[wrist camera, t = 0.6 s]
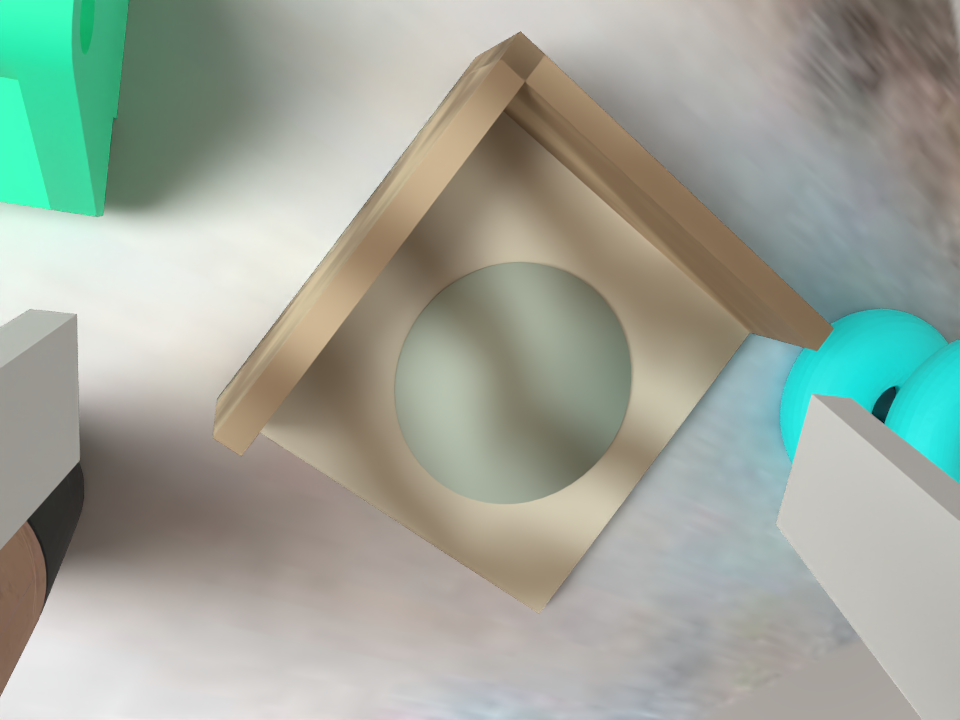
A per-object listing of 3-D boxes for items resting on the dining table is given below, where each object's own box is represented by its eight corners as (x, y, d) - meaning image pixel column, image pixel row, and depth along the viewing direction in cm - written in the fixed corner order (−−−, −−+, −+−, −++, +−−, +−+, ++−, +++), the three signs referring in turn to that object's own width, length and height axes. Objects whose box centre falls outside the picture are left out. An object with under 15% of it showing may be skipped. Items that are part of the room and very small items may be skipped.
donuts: (991, 617, 36) (874, 463, 33) (835, 528, 45) (732, 402, 42) (1147, 452, 37) (1047, 285, 33) (961, 398, 46) (869, 264, 43)
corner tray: (476, 56, 36) (520, 31, 30) (753, 309, 41) (834, 328, 36) (217, 398, 35) (212, 438, 30) (532, 604, 41) (578, 670, 36)
